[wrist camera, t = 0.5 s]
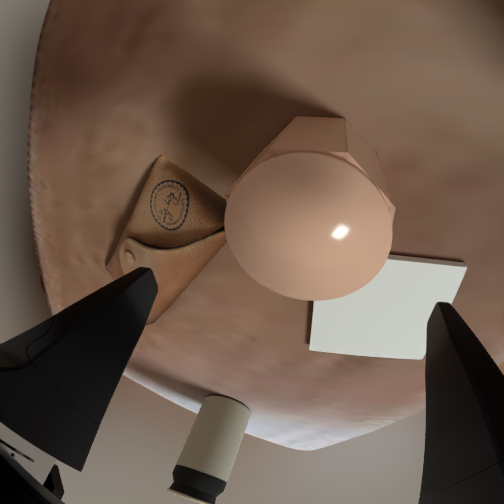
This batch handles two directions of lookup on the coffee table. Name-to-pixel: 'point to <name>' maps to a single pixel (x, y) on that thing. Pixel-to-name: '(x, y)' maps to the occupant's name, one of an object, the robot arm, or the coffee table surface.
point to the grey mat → (387, 310)
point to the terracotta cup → (312, 212)
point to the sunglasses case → (170, 232)
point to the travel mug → (210, 450)
